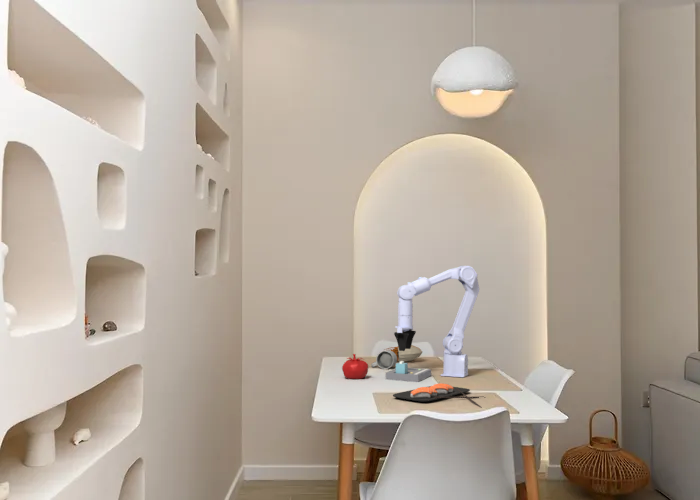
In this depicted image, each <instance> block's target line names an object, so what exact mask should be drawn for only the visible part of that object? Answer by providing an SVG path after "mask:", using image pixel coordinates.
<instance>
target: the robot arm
mask: <svg viewBox="0 0 700 500" xmlns="http://www.w3.org/2000/svg"><path fill="white" fill-rule="evenodd" d="M448 280H457V281H458V282H459V283H461V284H462V287H463V288H464V290H465V291H464V294H463V297H462V300H461V302H460V305H459V308H458V310H457V314H456V316H455V319H454V322H453V324H452V327H451V329H449V331H448V333H447V334H446V336H445V337H443V339H442V346H443V348H444V350H443V369H442V371H443V373H440V376H442V377H455V378H465V377H467V376H468V375H469V357H468V356H469V355H468V354H466V353H463V351H462V350H463V348H464V343H463V342H464V339H465V330H466V329H467V326H468V322H469V319H470V317H471V314H472V311H473V308H474V306H475V304H476V300H477V298H478V295H479V293H480V286H479V280H478V273H477V272H476V270H475V268H474V267H472V266H471V265H459V266H458V267H452V268H449V269H447V270H444V271H442V272H440V273H438V274H436V275H434V276H431V277H429V278H427V277H426V276H423V277H422V276H420V277H417V279H416V280H414V281H411V282H410V281H408V282H406V284H403V285H400V286H399V287H398V289H397V291H396V294H397V297H398V303H397V325H394V329H396V330H397V331H396V332H393V335H394V337H395V339H396V341H397V345H398V346H397V347H399V351H405V349H411V345H413V340H414V337H415V335H416V332H417V331H416V330H414V324H413V319H414V318H413V315H414V314H413V312H414V310H413V307H414V306H413V298H414V297H416V296H418V295H421V294H423V293H426V292H429V291H430V290H431V288H432V286H436V285H437V284H441V283H443V282H446V281H448Z"/></svg>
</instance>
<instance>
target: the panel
mask: <svg viewBox="0 0 700 500" xmlns="http://www.w3.org/2000/svg"><path fill="white" fill-rule="evenodd" d="M431 376H432V369H430V368H418V367H417V368H416V367H415V368H414V367H408V374H400V373H396V368H394V369H392V370H389V371H387V372H385V380H389V381H391V380H392V381H401V382H402V381H404V382H413V383H414V382H421V381H422V380H425V379H427V378H429V377H431Z"/></svg>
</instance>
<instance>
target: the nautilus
mask: <svg viewBox="0 0 700 500" xmlns="http://www.w3.org/2000/svg"><path fill="white" fill-rule="evenodd" d="M387 350H390V351H393V352H394V353H395V354H396V356H397V362H398V363H400V361H404V363H410V362H412V361H414V360H416V359H418V358H420V357H421V355H422V354H423V351H422V349H421V348H419V347H418V346H417V345H413V344H412V345H411V349H405V351H399V347H398V346H394V347H392V346H389V347H388V348H383V351H387Z"/></svg>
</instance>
